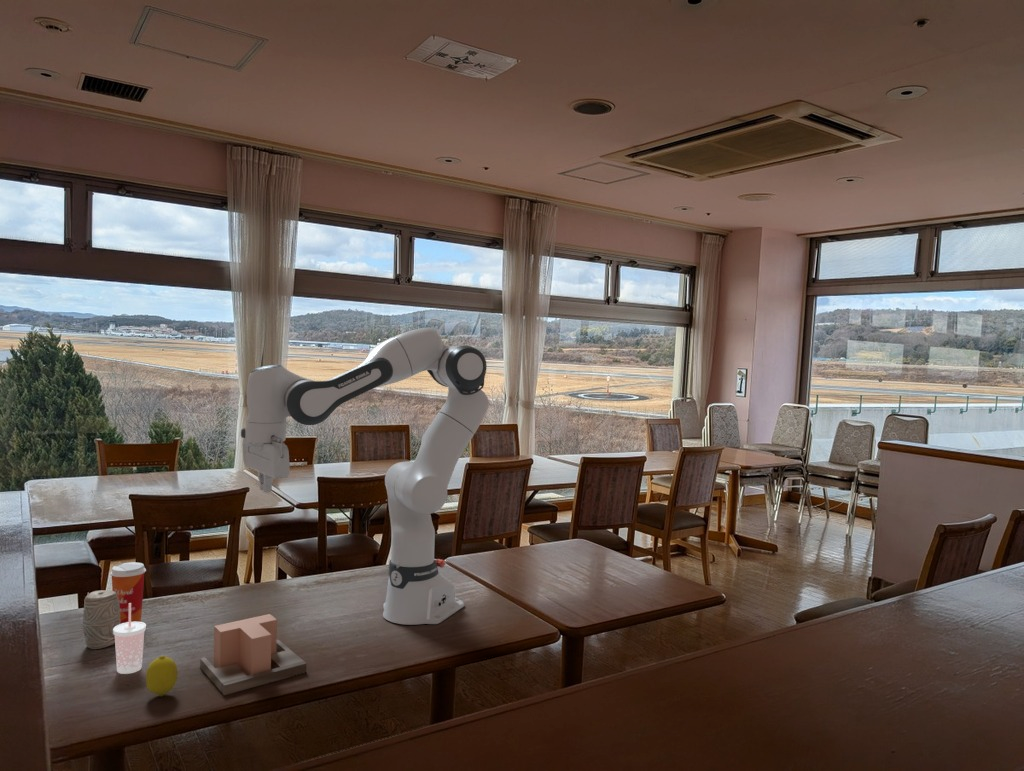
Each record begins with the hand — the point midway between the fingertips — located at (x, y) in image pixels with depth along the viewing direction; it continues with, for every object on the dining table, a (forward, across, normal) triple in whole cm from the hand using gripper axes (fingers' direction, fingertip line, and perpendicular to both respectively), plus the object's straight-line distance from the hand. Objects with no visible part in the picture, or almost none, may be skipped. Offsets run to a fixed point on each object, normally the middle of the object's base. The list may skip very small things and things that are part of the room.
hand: (265, 491), depth 172 cm
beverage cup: (+34, -4, +30) cm, 46 cm away
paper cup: (+34, +22, +25) cm, 47 cm away
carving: (+34, +12, +32) cm, 48 cm away
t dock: (+34, -18, +10) cm, 40 cm away
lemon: (+34, -20, +28) cm, 48 cm away
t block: (+34, -19, +10) cm, 40 cm away
